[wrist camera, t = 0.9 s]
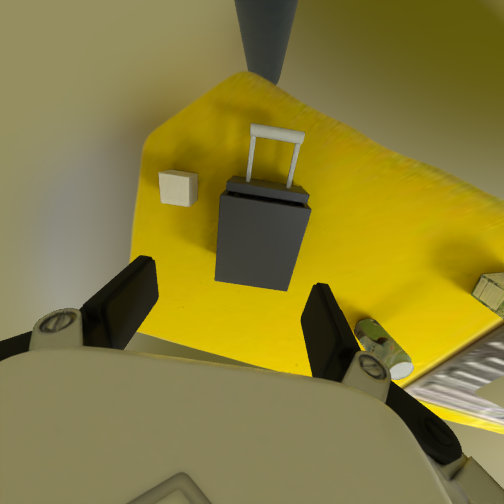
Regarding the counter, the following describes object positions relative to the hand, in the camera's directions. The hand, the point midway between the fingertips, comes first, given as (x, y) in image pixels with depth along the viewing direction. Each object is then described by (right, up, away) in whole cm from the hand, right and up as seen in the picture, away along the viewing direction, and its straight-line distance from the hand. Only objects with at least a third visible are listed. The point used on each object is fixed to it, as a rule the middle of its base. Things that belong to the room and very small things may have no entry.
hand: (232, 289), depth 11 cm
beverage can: (+29, -15, +36) cm, 49 cm away
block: (-11, +14, +22) cm, 28 cm away
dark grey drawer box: (+2, +6, +25) cm, 26 cm away
